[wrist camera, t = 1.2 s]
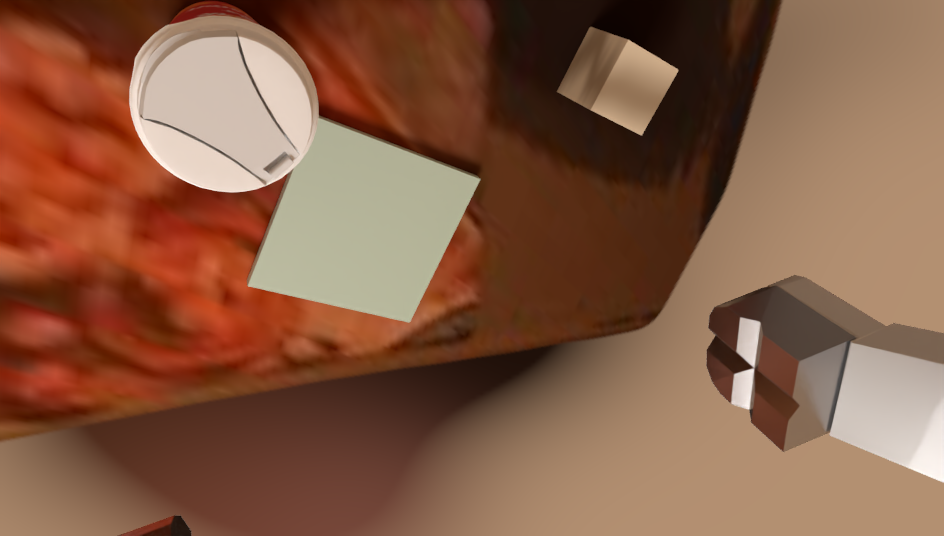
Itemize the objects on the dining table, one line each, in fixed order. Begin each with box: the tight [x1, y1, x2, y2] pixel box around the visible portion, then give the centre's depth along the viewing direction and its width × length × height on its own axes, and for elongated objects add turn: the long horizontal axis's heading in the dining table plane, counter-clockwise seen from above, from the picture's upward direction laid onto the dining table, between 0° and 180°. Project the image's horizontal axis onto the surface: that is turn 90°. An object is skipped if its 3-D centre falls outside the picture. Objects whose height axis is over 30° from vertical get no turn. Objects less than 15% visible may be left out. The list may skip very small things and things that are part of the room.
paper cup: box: [129, 1, 319, 192], centre depth 33 cm, size 8×8×14 cm
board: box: [247, 115, 480, 323], centre depth 47 cm, size 13×13×1 cm
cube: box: [557, 27, 678, 135], centre depth 46 cm, size 5×5×5 cm
